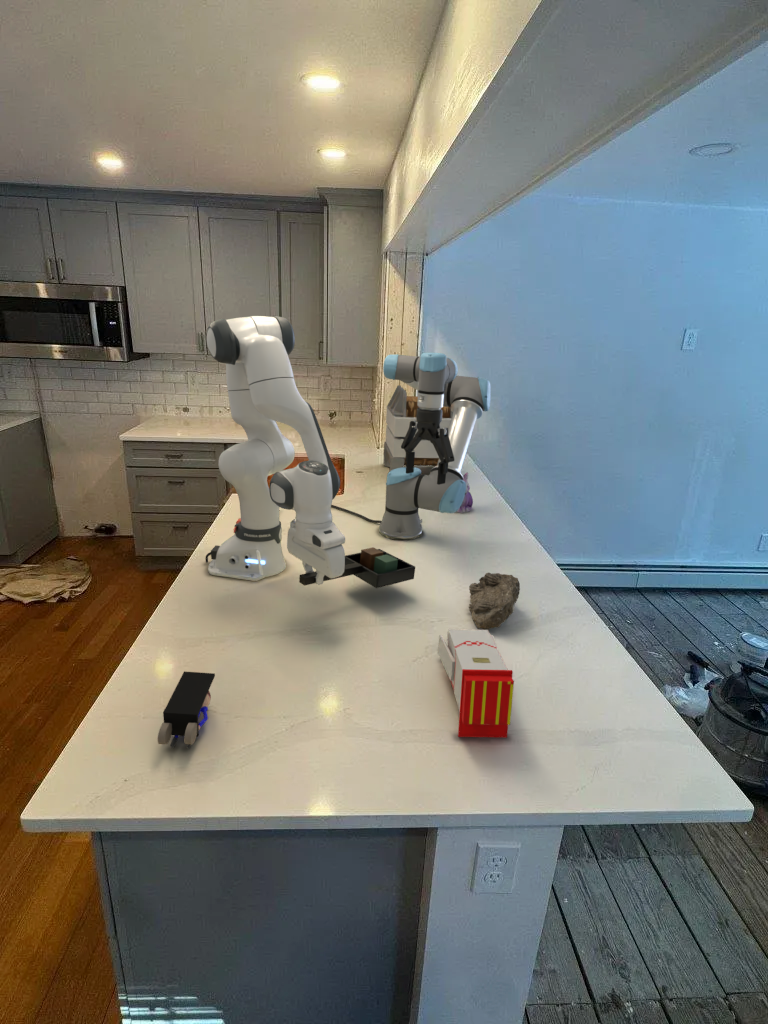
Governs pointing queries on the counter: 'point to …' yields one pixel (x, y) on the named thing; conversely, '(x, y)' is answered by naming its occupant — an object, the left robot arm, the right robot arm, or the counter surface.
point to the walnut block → (369, 557)
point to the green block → (385, 564)
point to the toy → (478, 682)
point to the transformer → (398, 422)
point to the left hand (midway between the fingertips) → (314, 580)
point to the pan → (368, 572)
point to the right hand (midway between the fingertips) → (424, 478)
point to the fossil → (493, 599)
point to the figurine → (466, 498)
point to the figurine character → (186, 708)
